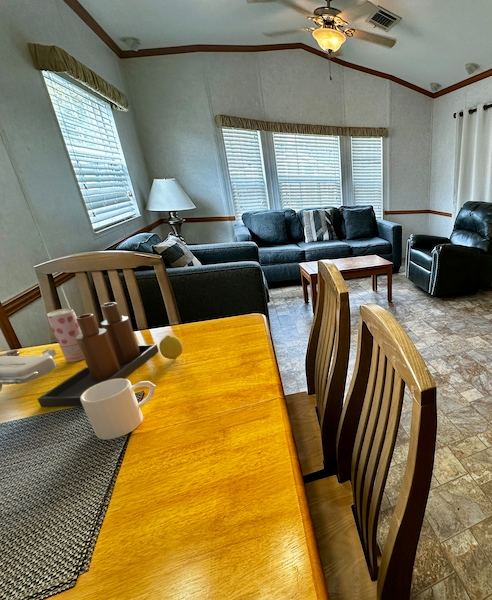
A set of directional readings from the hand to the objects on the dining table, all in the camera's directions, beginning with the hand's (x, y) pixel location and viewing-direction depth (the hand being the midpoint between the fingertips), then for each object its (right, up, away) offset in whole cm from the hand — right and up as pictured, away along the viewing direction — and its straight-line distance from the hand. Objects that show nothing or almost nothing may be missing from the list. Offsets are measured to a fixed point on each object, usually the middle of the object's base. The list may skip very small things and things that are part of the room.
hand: (34, 351), depth 86 cm
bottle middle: (+16, -7, +4) cm, 18 cm away
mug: (+36, -14, -13) cm, 41 cm away
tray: (+16, -7, +4) cm, 18 cm away
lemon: (+29, -4, +11) cm, 32 cm away
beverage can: (0, -4, +13) cm, 13 cm away
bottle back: (+16, -4, +11) cm, 20 cm away
